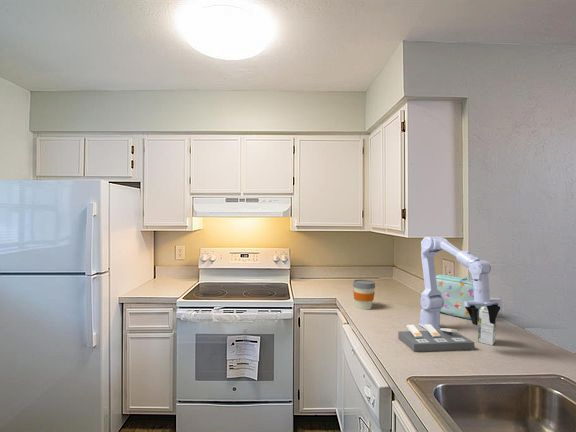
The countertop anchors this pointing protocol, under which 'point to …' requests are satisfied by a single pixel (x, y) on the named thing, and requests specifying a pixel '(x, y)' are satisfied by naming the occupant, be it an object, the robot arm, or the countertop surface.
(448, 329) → the rocker
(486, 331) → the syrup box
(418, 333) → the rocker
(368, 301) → the reusable coffee cup
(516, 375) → the countertop surface
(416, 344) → the power strip
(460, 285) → the lunch box
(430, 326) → the rocker middle
